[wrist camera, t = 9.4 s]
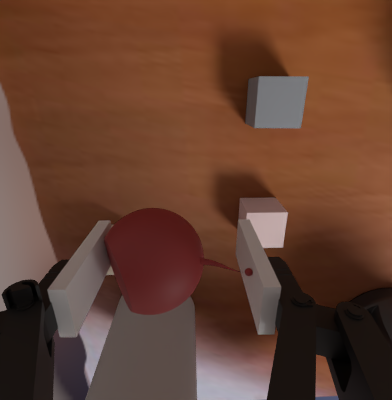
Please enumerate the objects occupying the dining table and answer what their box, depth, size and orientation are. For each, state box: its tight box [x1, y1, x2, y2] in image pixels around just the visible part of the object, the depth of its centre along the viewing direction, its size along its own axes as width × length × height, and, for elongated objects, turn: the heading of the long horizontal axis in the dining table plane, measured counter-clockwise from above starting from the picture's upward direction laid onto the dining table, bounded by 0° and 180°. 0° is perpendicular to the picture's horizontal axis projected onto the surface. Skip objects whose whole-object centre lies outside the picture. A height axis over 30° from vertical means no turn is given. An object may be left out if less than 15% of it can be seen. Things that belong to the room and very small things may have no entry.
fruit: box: [104, 208, 253, 315], centre depth 15 cm, size 6×6×8 cm
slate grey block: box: [245, 76, 309, 128], centre depth 29 cm, size 5×5×5 cm
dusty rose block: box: [238, 198, 288, 248], centre depth 35 cm, size 5×5×5 cm
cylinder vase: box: [86, 295, 197, 400], centre depth 32 cm, size 12×12×25 cm
